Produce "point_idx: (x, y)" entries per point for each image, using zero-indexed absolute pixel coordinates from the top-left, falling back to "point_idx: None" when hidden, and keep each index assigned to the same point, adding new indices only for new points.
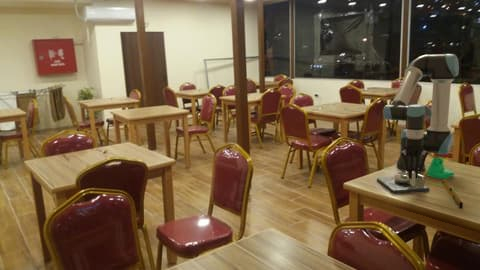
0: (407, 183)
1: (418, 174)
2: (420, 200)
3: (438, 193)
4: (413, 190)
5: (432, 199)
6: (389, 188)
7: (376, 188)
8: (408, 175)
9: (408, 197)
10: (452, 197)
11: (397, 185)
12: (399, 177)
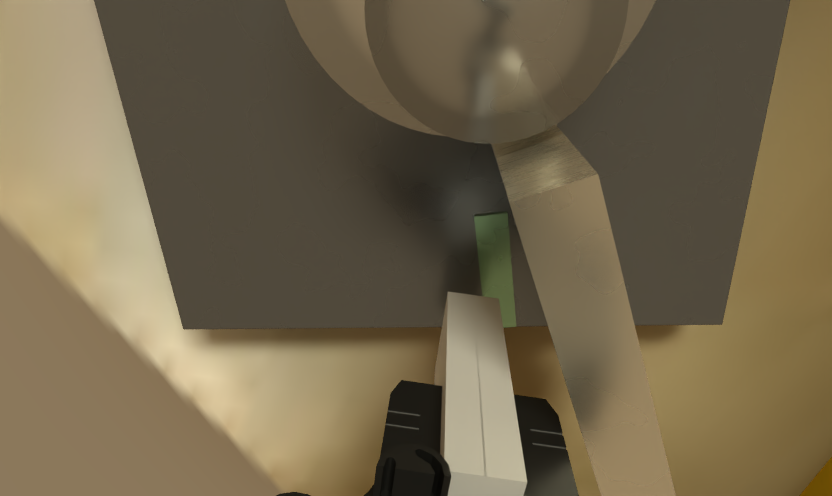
0: None
1: (631, 424)
2: None
3: (766, 357)
4: None
5: None
6: (160, 205)
7: (10, 44)
8: (386, 421)
9: (351, 404)
10: (809, 494)
11: (294, 146)
12: (342, 33)
